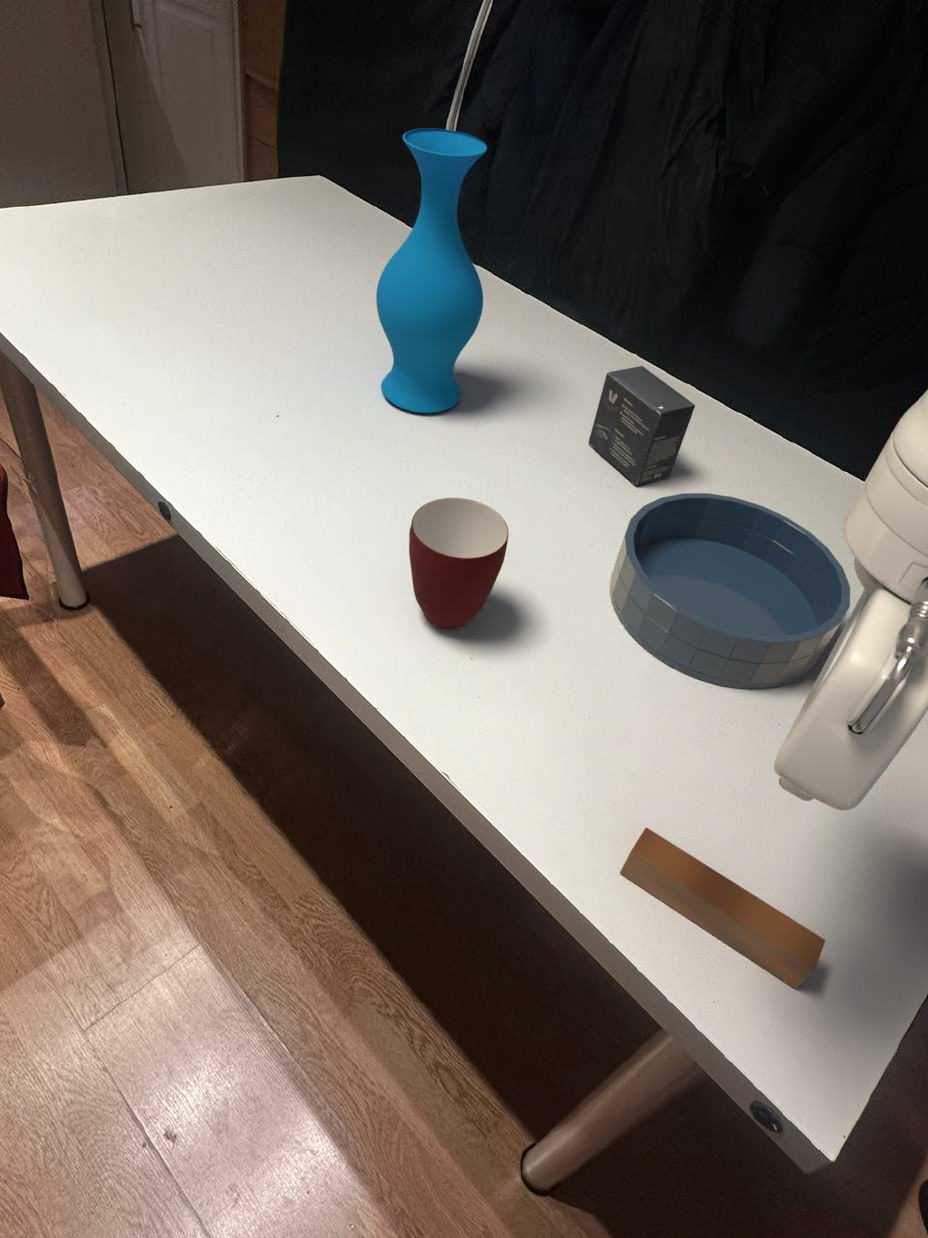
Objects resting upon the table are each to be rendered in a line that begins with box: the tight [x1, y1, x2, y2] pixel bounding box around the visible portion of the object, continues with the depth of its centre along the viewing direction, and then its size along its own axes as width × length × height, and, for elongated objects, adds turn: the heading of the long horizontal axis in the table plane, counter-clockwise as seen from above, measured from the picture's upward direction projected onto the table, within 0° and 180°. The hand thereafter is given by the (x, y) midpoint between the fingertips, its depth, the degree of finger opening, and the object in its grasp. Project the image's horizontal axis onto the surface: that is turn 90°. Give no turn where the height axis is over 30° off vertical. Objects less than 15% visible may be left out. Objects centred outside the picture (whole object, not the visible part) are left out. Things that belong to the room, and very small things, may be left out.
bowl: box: [609, 492, 851, 690], centre depth 77 cm, size 21×21×6 cm
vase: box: [375, 127, 488, 414], centre depth 91 cm, size 12×13×28 cm
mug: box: [408, 497, 509, 630], centre depth 71 cm, size 11×8×10 cm
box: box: [587, 365, 696, 486], centre depth 93 cm, size 9×6×10 cm, turn 31°
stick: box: [619, 827, 826, 990], centre depth 55 cm, size 13×2×3 cm, turn 55°
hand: (824, 728), depth 45 cm, fingers open, 8 cm apart
